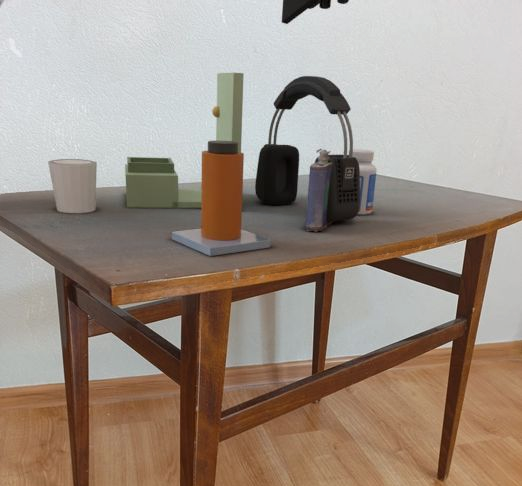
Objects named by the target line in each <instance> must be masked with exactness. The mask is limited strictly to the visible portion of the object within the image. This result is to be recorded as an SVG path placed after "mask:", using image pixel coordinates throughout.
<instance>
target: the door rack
mask: <svg viewBox="0 0 522 486" xmlns="http://www.w3.org/2000/svg"><path fill="white" fill-rule="evenodd" d="M244 74H245V73H243V72H218V73H217V74H216V106H214V107H213V108H212V110H211V111H212V116H213V117H215V118H216V120H215V121H216V122H215V123H216V129H215V139H216V140H215V141H233V142H237V143H238V152H241V153H242V138H243V137H242V135H243V134H242V133H243V104H244V103H243V102H244V101H243V100H244V76H245V75H244ZM126 160H127V161H126V162H127V164H124V174H125V175H124V176H125V192H126V193H125V195H126V198H125V199H126V208H146V209H149V208H151V209H155V208H156V209H158V208H159V209H162V208H163V209H165V208H166V209H201V192H202V188H200V189H199V188H179V175H178V172H176V170H175V163H174V161H173V160H172V158H171V157H147V156H146V157H143V156H127V157H126Z"/></svg>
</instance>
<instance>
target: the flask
mask: <svg viewBox="0 0 522 486" xmlns="http://www.w3.org/2000/svg"><path fill="white" fill-rule="evenodd" d="M330 153H332V152H331V150H326V149H322V148H319V149H316V154H319V155H318V156H317V157H318V162H316V163H315V162H314V163H312V164H310V166H309V175H308V178H309V179H308V188H307V202H306V214H305V223H304V228H305V231H308V232H312V231H313V232H315V233H317V232H318V231H323V230H324V229H326V228H327V227H328V226H330V225H332V223H333V222H328V221H327V204H328V194H329V184H330V176H331V170H332V166H333V163H331V162H330V163H328V160H329V157H328V155H330Z"/></svg>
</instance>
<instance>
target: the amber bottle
mask: <svg viewBox="0 0 522 486" xmlns="http://www.w3.org/2000/svg"><path fill="white" fill-rule="evenodd" d="M244 156H245V153H243V152H242V151H241V152H238V143H237V142H233V141H216V140H208V141H207V150H202V151H201V189H202V192H201V208H200V209H201V211H200V212H201V213H200V216H201V217H200V220H201V222H200V225H201V226H200V229H201V236H202V237H204V238H207V239H211V240H222V241H225V240H235V239H239V238H240V237H241V229H242V221H243V220H242V219H243V218H242V217H243V190H244V164H245V163H244V162H245V157H244Z"/></svg>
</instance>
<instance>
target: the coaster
mask: <svg viewBox="0 0 522 486" xmlns="http://www.w3.org/2000/svg"><path fill="white" fill-rule="evenodd" d="M171 240H172V241H175V242H176V243H180V244H181V245H184V246H186V247H188V248H191V249H193V250H195V251H198V252H200V253H202V254H204V255H206V256H208V257H213V256H220V255H221V256H222V255H227V254H234V253H235V254H236V253H240V252H248V251H255V250H262V249H263V250H264V249H270V248H271V242H272V241H271V238H267V237H264V236H261V235H258V234H255V233H254V232H250V231H247V230H244V229H242V228H241V237H240V238H239V239H235V240H225V241H222V240H211V239H207V238H204V237H202V236H201V228H194V229H185V230H176V231H172V232H171Z"/></svg>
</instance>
